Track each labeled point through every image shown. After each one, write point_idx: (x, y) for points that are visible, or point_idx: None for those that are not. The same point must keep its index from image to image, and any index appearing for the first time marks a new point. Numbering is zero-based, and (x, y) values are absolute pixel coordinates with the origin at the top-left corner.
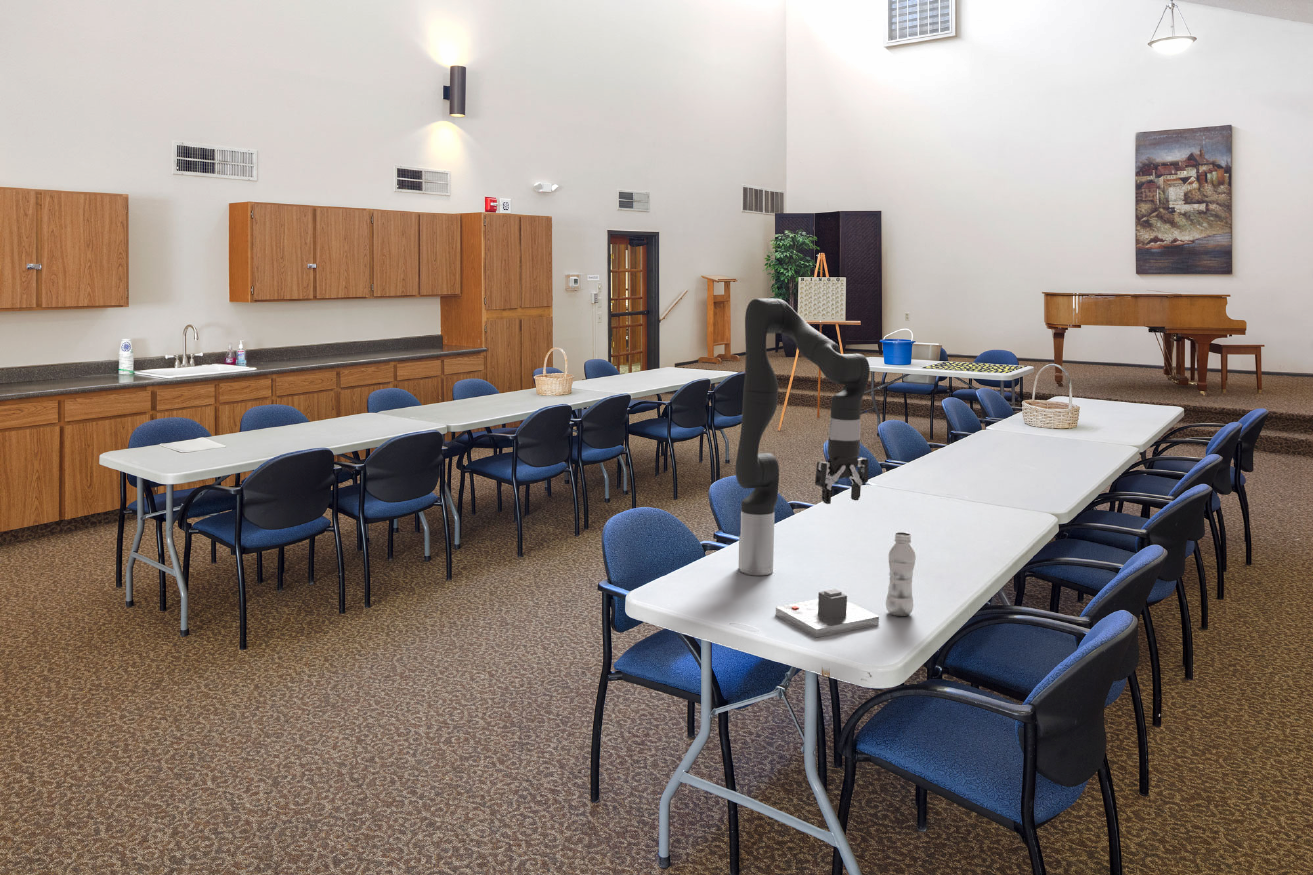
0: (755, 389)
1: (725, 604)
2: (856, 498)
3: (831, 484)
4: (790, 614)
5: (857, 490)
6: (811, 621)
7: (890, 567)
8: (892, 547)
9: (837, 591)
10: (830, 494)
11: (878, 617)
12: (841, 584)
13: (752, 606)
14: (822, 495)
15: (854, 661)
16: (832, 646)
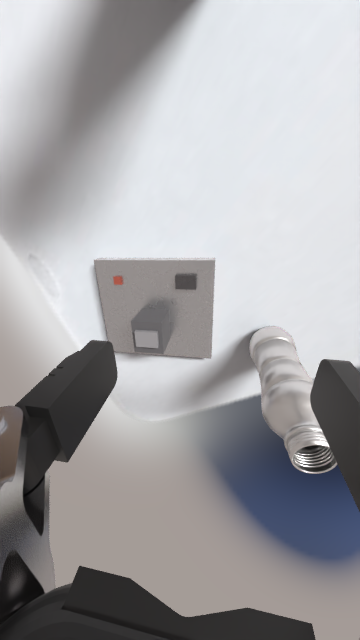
0: None
1: (41, 172)
2: (315, 411)
3: (34, 513)
4: (101, 296)
5: (345, 470)
6: (116, 329)
7: (263, 383)
8: (282, 412)
9: (153, 343)
10: (85, 425)
11: (210, 357)
12: (313, 160)
13: (81, 204)
14: (51, 378)
15: (120, 402)
16: (119, 369)
